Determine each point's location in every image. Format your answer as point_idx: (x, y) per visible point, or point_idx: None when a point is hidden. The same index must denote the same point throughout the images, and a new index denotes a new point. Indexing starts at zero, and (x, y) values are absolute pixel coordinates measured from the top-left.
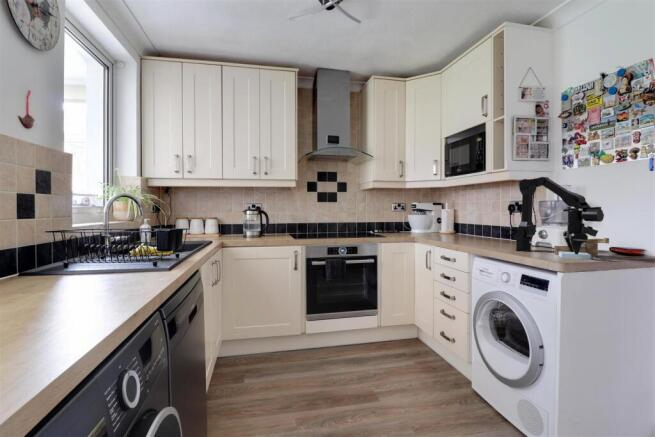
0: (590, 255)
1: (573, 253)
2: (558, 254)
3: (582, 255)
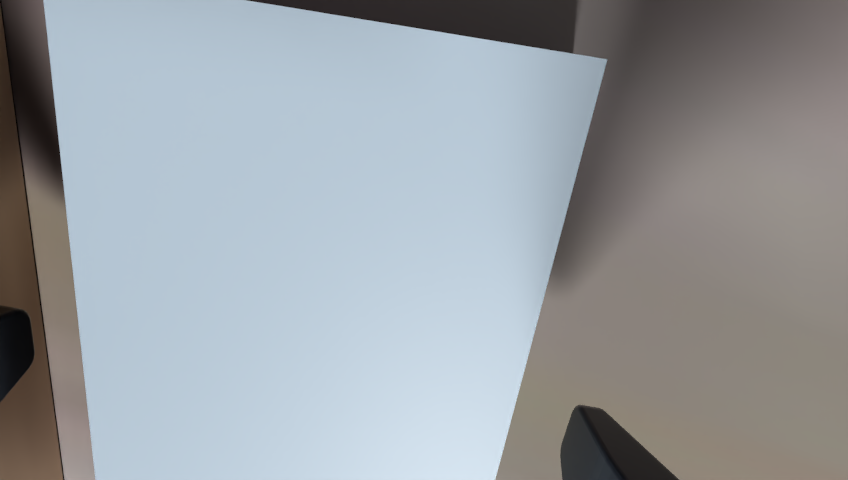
0: (600, 70)
1: (395, 422)
2: (54, 468)
3: (540, 265)
